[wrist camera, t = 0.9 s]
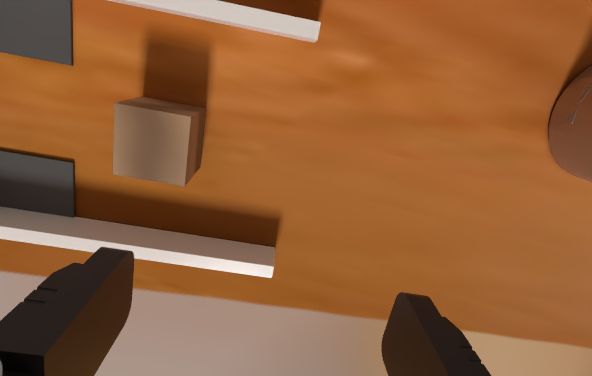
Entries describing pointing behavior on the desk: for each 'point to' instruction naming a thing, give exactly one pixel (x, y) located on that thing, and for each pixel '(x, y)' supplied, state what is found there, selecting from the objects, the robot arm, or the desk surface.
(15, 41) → the box
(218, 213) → the desk surface
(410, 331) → the robot arm
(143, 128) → the walnut block
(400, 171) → the desk surface
